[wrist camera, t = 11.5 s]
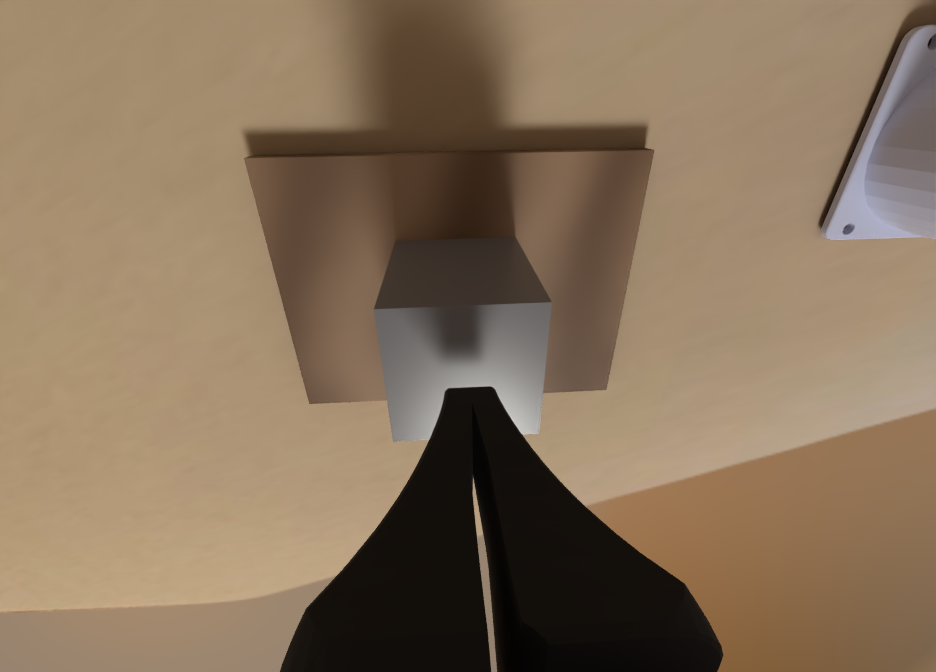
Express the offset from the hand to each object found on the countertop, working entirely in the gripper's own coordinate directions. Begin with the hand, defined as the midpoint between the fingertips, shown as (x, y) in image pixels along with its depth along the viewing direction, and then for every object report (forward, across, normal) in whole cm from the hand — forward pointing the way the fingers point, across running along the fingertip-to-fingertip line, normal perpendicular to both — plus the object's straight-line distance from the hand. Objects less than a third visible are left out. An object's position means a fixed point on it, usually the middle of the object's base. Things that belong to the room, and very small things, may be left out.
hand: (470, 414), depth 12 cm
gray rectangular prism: (+8, 0, 0) cm, 8 cm away
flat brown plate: (+9, 0, 0) cm, 9 cm away
